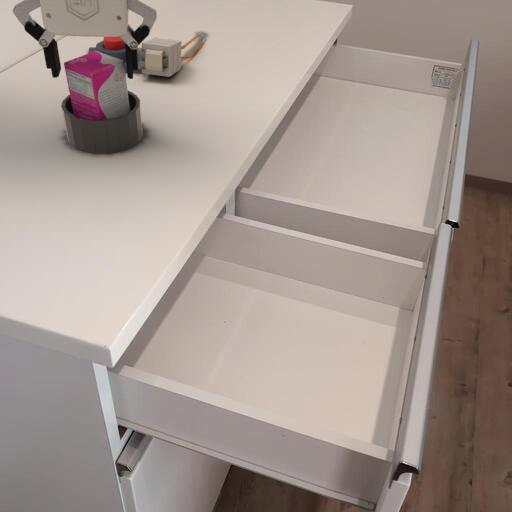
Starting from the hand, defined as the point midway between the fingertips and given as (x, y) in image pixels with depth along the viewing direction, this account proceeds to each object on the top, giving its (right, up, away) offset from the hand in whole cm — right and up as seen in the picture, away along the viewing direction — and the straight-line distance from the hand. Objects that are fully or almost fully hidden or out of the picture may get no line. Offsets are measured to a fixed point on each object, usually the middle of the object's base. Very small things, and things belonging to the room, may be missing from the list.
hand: (94, 74), depth 73 cm
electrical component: (+6, +13, +31) cm, 35 cm away
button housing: (-4, +11, +27) cm, 30 cm away
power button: (-4, +13, +25) cm, 29 cm away
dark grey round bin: (0, -8, +7) cm, 10 cm away
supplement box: (0, -7, +6) cm, 10 cm away
